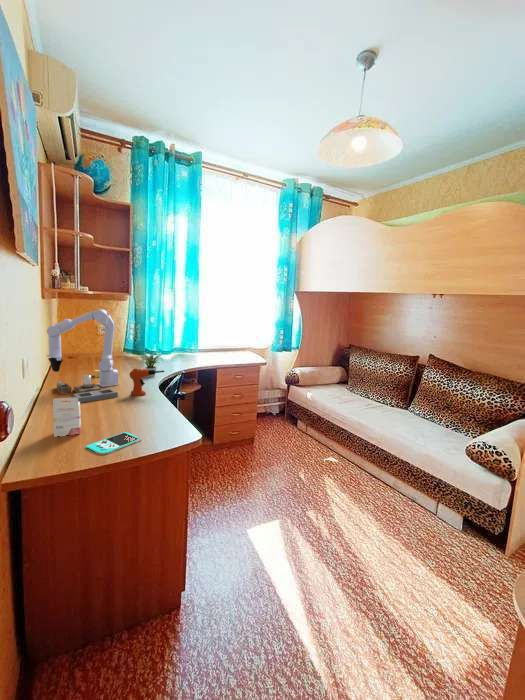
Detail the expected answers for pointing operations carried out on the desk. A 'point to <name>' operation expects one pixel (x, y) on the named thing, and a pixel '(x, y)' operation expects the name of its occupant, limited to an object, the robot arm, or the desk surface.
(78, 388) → the socket block
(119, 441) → the handheld game console
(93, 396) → the rack
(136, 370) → the toy drill
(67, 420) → the ink cartridge box
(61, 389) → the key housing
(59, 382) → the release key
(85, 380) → the shiny metal cylinder
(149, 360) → the house plant
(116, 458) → the desk surface
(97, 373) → the rubber stamp
